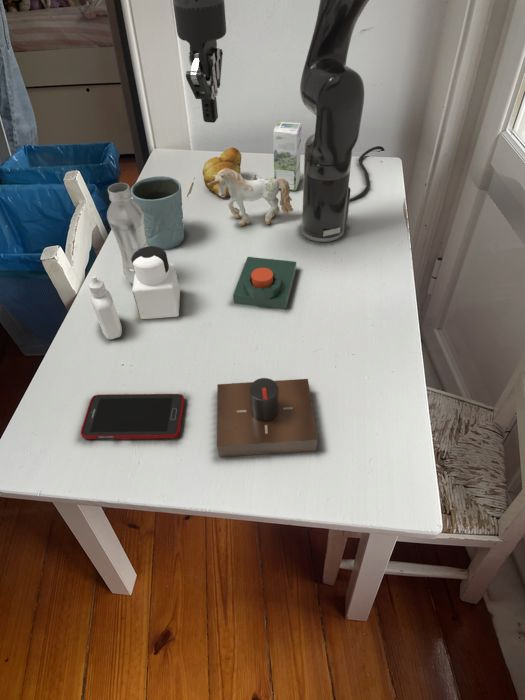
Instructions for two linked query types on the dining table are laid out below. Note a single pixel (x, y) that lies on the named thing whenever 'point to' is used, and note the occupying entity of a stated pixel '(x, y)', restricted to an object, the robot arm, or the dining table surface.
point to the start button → (262, 277)
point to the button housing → (270, 295)
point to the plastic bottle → (126, 225)
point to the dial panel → (265, 436)
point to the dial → (264, 399)
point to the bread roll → (221, 167)
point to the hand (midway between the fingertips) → (211, 120)
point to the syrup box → (287, 152)
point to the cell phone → (133, 416)
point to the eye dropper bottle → (105, 309)
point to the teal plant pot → (161, 210)
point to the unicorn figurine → (252, 193)
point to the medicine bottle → (155, 284)
